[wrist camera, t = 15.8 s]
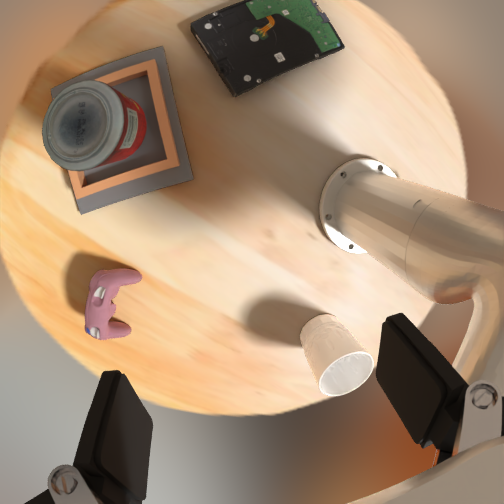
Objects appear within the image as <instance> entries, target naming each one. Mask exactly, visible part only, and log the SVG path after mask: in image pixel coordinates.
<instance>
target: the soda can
mask: <svg viewBox="0 0 504 504" xmlns="http://www.w3.org/2000/svg"><path fill="white" fill-rule="evenodd" d="M146 128H147V121H146V118H145V114H144V111H143V109H142V108H141V107H140V105H139V104H138V103H137V102H135V101H134V100H133V99H131V98H129V97H128V96H126V95H124V94H123V93H121V92H119V91H118V90H116V89H114V88H112V87H111V86H109V85H108V84H106V83H103V82H101V81H96V80H83V81H79V82H76V83H73V84H71V85H69V86H68V87H66V88H65V89H63V90H62V91H61V92H60V93H59V94H58V95H57V96H56V97H55V98H54V99H53V101H52V102H51V104H50V105H49V107H48V110H47V113H46V115H45V118H44V122H43V128H42V136H43V142H44V146H45V149H46V151H47V152H48V154H49V155H50V157H51V159H52V160H53V161H54V162H55V163H57V164H58V165H59V166H60V167H62V168H64V169H66V170H70V171H85V170H90V169H93V168H96V167H100V166H103V165H106V164H110V163H113V162H116V161H120V160H123V159H126V158H127V157H129V156H131V155H132V154H133V153H134V152H135V151H136V150H137V149H138V148H139V147H140V145H141V144H142V142H143V140H144V137H145V134H146Z"/></svg>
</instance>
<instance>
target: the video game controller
mask: <svg viewBox="0 0 504 504" xmlns="http://www.w3.org/2000/svg"><path fill="white" fill-rule="evenodd" d="M141 279H142V275H141V274H140V273H139V272H138V271H136V270H132V269H124V268H122V269H113V270H107V271H106V270H103V269H102V270H99V271H97V272H96V273H95V274H94V276H93V277H92V279H91V281H90V284H89V294H88V298H87V302H86V308H85V331H86V333H88V334H89V335H91V336H92V337H94V338H96V339H100V340H106V339H111V338H119V337H125V336H127V335H129V334H130V332H131V327H130V326H129V325H127V324H125V323H122V322H114V321H109V319H110V318H111V317H112V316H113V315H114V313H115V311H116V305H115V304H114V303H112V302H111V299H113V298H114V297H115V296H116V295H117V293H118V291H119V287H120V286H123V285H129V284H135V283H137V282H139V281H141Z"/></svg>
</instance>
